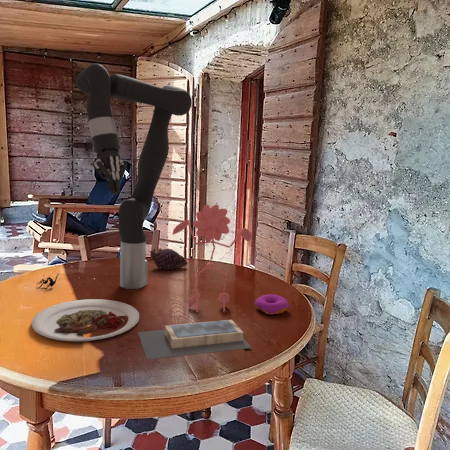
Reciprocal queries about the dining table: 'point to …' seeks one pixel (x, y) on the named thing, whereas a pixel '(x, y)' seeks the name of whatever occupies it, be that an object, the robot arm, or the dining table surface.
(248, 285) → the dining table surface
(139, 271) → the robot arm
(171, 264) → the pine cone
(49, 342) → the dining table surface
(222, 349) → the rubber mat
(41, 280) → the creature
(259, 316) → the dining table surface
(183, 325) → the birch picture frame
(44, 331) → the plated food
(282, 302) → the donut
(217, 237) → the figurine
